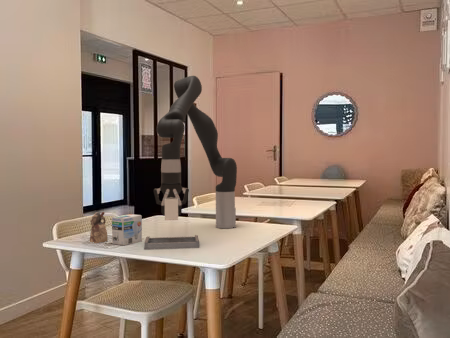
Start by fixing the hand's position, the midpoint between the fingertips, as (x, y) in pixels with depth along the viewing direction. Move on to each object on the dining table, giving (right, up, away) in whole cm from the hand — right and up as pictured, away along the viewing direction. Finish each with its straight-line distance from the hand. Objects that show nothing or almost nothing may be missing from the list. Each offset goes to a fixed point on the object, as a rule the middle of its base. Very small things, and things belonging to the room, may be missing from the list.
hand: (171, 214), depth 168 cm
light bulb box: (-19, -12, +6) cm, 23 cm away
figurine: (-31, -12, +9) cm, 34 cm away
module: (0, -2, 0) cm, 2 cm away
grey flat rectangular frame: (0, -12, 0) cm, 12 cm away
